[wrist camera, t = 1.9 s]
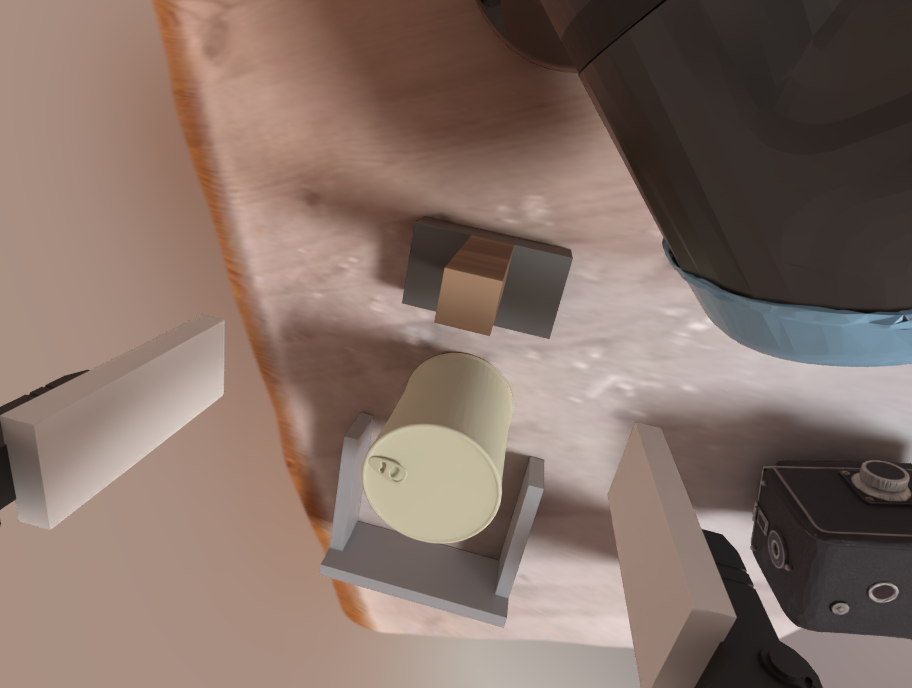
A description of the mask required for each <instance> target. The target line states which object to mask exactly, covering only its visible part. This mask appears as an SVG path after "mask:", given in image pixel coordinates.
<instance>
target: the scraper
mask: <svg viewBox="0 0 912 688" xmlns="http://www.w3.org/2000/svg"><path fill="white" fill-rule="evenodd" d="M572 259H573V257H572V252H571V250H570V249H566V248H561V247H557V246H552V245H548V244H544V243H539V242H535V241H530V240H526V239H522V238H517V237H513V236H508V235H504V234H500V233H495V232H491V231H487V230H482V229H478V228H473V227H469V226H465V225H460V224H456V223H451V222H447V221H443V220H438V219H434V218H429V217H425V216H424V217H423V218H421V219H419V220H418V221H416V222H415V226H414V232H413V238H412V245H411V251H410V257H409V263H408V269H407V276H406V282H405V288H404V294H403V300H402V303H403V304H407V305H411V306H415V307H419V308H424V309H428V310H432V311H436V316H435V321H434V323H439V324H443V325H447V326H451V327H455V328H459V329H463V330H467V331H471V332H475V333H480V334H484V335H488V336H490V334H491V330H492V327H493V325H494V326H498V327H502V328H506V329H510V330H514V331H518V332H523V333H527V334H531V335H535V336H539V337H543V338H547V339H550V335H551V332H552V328H553V325H554V321H555V318H556V314H557V311H558V307H559V304H560V300H561V297H562V294H563V290H564V287H565V283H566V280H567V276H568V273H569V269H570V266H571V262H572Z"/></svg>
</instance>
